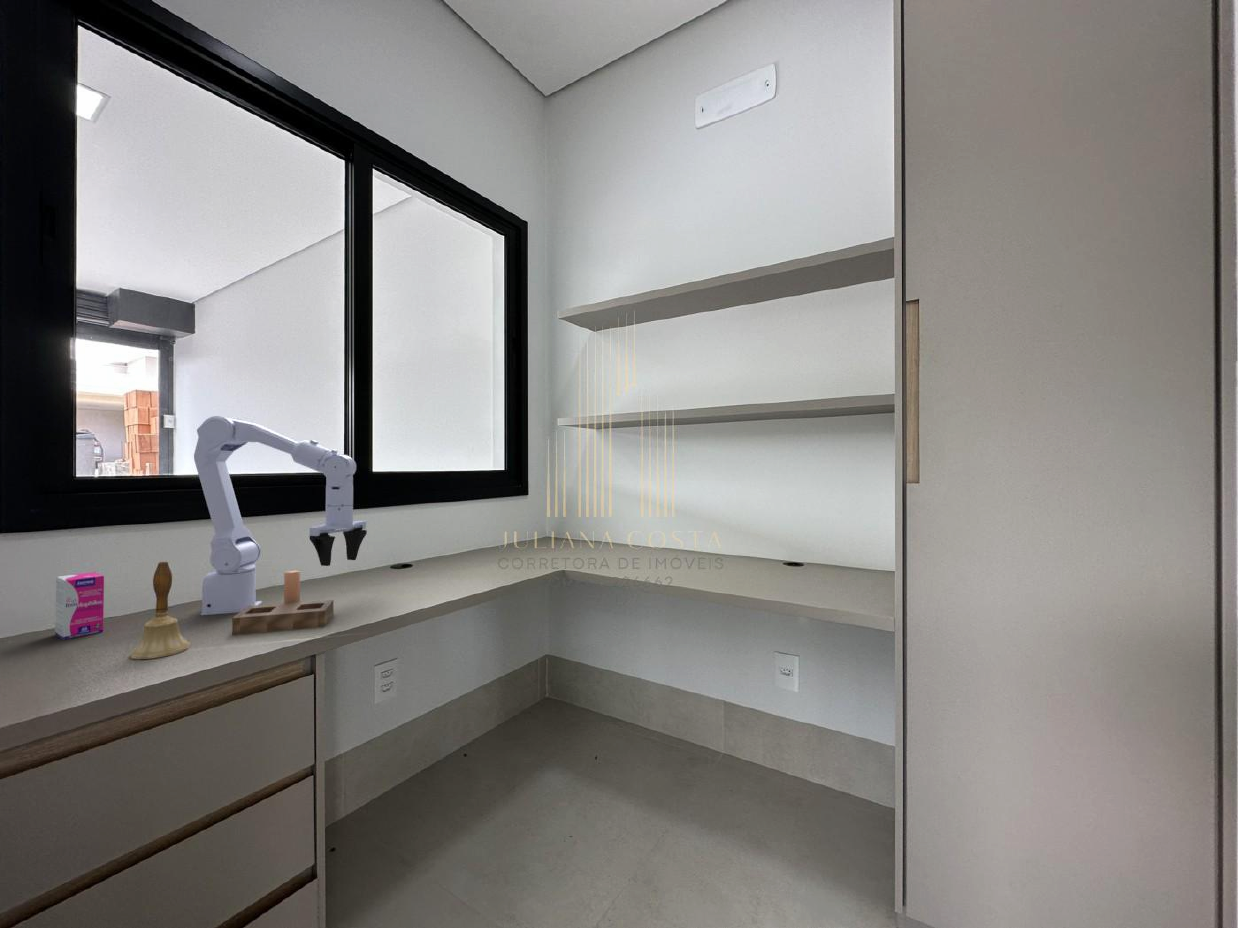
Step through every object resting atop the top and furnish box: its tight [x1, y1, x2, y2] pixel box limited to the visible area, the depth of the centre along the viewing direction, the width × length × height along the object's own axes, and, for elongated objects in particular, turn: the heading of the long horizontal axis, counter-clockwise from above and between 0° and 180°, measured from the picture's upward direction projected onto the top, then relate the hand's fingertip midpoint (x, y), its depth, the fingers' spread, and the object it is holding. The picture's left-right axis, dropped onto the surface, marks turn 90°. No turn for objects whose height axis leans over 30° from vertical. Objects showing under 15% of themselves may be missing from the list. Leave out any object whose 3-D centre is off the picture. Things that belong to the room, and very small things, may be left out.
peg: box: [283, 570, 301, 603], centre depth 116 cm, size 3×3×9 cm
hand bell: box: [129, 561, 192, 660], centre depth 93 cm, size 8×8×16 cm
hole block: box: [231, 599, 334, 636], centre depth 108 cm, size 16×9×4 cm, turn 109°
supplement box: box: [54, 571, 105, 641], centre depth 103 cm, size 6×6×12 cm
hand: (338, 562), depth 124 cm, fingers open, 7 cm apart
